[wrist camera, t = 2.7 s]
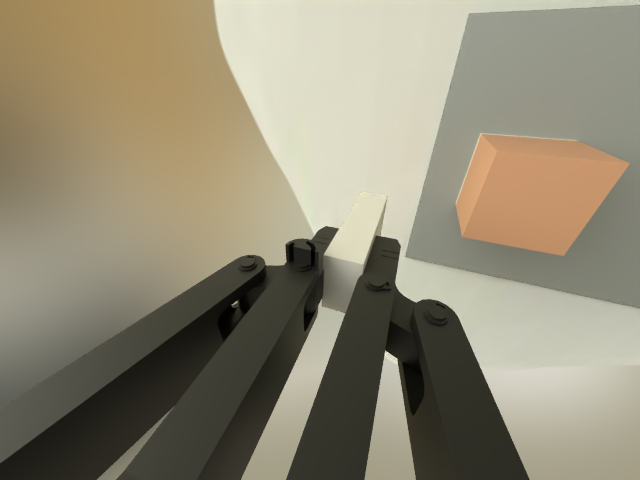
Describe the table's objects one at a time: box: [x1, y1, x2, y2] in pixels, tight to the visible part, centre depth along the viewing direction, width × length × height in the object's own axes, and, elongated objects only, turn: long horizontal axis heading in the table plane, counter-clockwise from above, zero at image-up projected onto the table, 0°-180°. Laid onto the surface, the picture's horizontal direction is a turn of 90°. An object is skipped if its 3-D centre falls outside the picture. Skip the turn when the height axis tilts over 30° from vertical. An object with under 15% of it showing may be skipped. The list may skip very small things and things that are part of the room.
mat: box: [405, 5, 640, 308], centre depth 18 cm, size 20×28×1 cm
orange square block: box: [456, 133, 630, 256], centre depth 17 cm, size 6×6×6 cm
